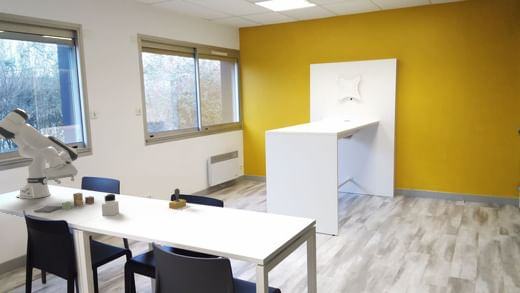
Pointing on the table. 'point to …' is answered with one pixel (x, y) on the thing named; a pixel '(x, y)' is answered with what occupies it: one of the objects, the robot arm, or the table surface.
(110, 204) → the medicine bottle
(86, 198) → the walnut cube
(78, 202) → the oak block
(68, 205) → the sage cube
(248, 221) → the table surface
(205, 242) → the table surface
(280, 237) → the table surface
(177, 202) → the rubber stamp
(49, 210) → the grey mat
